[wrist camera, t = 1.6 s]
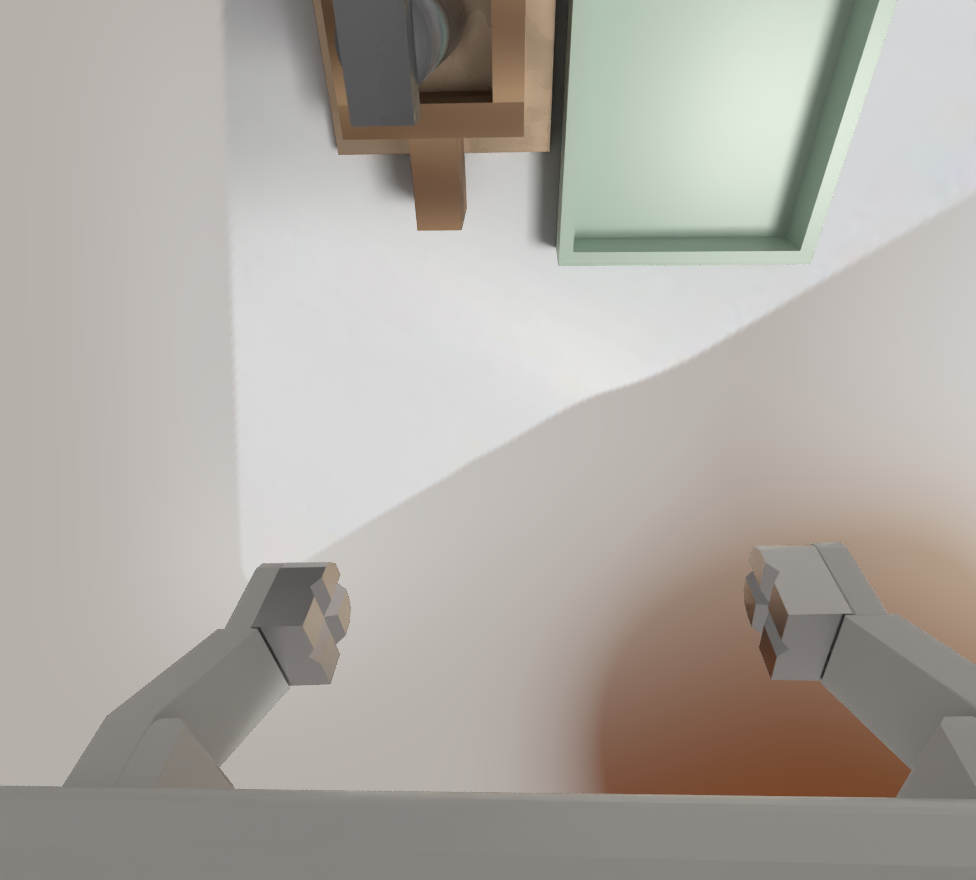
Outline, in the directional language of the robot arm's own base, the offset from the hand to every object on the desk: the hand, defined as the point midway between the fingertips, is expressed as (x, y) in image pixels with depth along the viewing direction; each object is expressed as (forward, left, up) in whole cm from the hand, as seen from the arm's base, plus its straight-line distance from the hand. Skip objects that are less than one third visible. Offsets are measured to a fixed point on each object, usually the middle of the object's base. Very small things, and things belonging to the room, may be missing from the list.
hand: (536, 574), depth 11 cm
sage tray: (-6, +9, -29) cm, 31 cm away
